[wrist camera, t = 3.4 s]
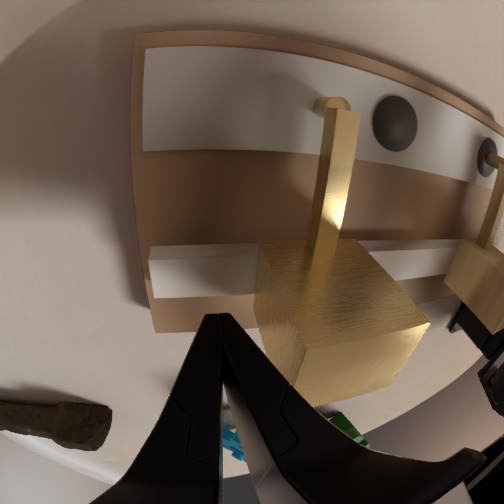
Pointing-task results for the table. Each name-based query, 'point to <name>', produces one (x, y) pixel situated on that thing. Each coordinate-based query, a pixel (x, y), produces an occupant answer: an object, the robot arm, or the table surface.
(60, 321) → the table surface
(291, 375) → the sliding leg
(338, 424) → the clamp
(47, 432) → the hand tool
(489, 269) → the wooden base with blocks
